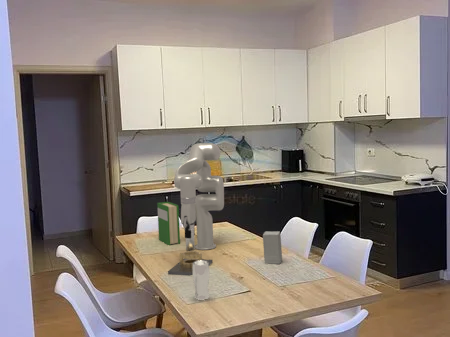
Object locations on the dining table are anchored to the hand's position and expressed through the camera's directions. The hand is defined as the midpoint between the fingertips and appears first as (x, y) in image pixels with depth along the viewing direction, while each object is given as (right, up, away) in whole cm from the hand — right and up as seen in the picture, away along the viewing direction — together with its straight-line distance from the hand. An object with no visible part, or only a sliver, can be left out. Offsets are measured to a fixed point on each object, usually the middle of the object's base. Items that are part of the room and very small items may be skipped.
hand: (189, 236), depth 226 cm
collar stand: (+1, -16, +1) cm, 16 cm away
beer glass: (+8, -20, -40) cm, 45 cm away
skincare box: (+42, -15, +7) cm, 45 cm away
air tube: (0, -7, +1) cm, 7 cm away
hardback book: (-17, -12, +58) cm, 62 cm away
